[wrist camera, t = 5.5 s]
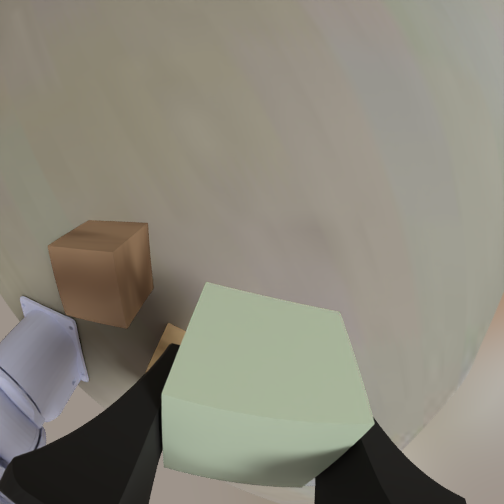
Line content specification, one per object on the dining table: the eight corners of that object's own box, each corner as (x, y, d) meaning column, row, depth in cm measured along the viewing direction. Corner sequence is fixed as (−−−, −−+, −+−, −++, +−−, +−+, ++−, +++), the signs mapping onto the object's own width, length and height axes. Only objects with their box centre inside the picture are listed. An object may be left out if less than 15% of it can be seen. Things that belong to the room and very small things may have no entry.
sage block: (296, 393, 12) (301, 487, 7) (191, 373, 12) (163, 466, 7) (339, 311, 10) (374, 424, 5) (206, 281, 10) (161, 394, 5)
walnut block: (154, 287, 20) (127, 328, 15) (99, 280, 20) (65, 314, 15) (148, 222, 18) (112, 252, 13) (89, 220, 18) (47, 245, 13)
